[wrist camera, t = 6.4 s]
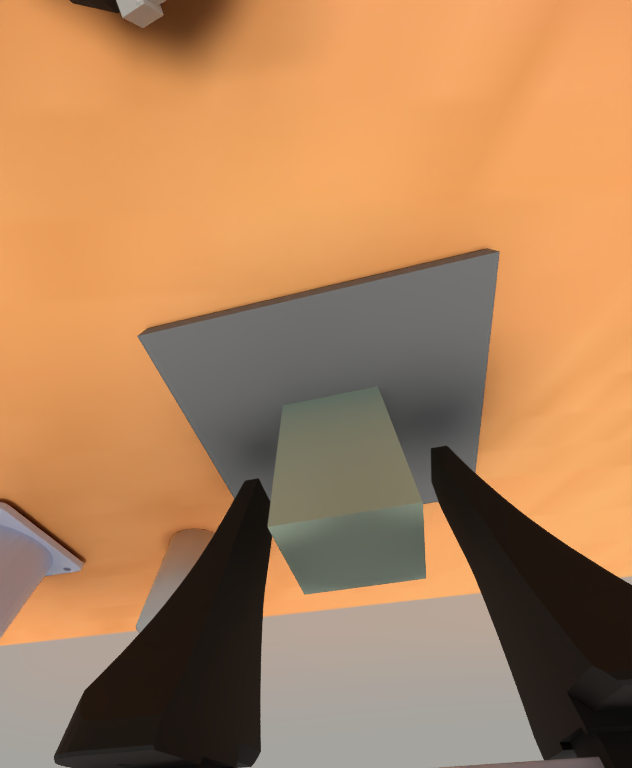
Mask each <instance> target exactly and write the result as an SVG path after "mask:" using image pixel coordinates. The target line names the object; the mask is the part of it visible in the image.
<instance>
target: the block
mask: <svg viewBox="0 0 632 768" xmlns="http://www.w3.org/2000/svg"><path fill="white" fill-rule="evenodd" d="M268 529H269V531H270V533H271V534H272V536H273V538H274V540H275V542H276V544H277V545H278V547H279V549H280V551H281V553H282V554H283V556H284V558H285V560H286V562H287V563H288V565H289V567H290V569H291V571H292V572H293V574H294V576H295V578H296V580H297V582H298V583H299V585H300V587H301V589H302V591H303V592H304V594H313V593H320V592H328V591H335V590H343V589H350V588H358V587H365V586H373V585H380V584H388V583H395V582H403V581H410V580H418V579H425V578H426V564H425V542H424V519H423V502H422V499H421V497H420V494H419V492H418V489H417V486H416V484H415V481H414V479H413V476H412V473H411V471H410V468H409V466H408V463H407V460H406V458H405V455H404V453H403V450H402V448H401V445H400V442H399V440H398V437H397V435H396V432H395V429H394V427H393V424H392V422H391V419H390V416H389V414H388V411H387V409H386V406H385V404H384V401H383V398H382V396H381V393H380V391H379V388H378V386H377V387H372V388H367V389H362V390H357V391H352V392H347V393H342V394H337V395H332V396H327V397H322V398H317V399H312V400H307V401H302V402H297V403H292V404H287V405H283V407H282V415H281V423H280V431H279V439H278V447H277V455H276V463H275V471H274V479H273V487H272V495H271V503H270V511H269V519H268Z"/></svg>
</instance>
